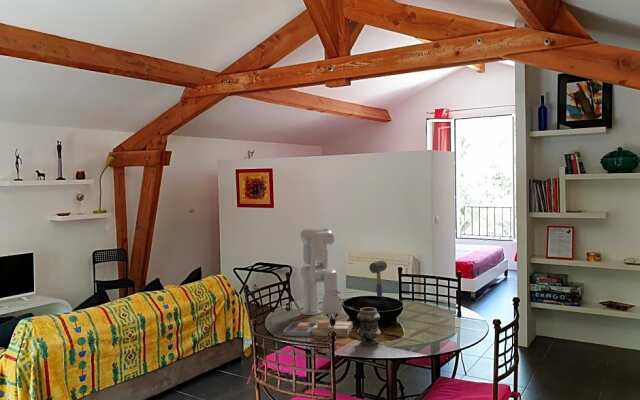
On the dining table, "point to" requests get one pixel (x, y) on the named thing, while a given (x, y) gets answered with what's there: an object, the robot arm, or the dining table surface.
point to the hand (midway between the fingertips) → (332, 325)
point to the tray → (292, 331)
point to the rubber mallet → (378, 274)
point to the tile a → (303, 326)
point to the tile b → (323, 324)
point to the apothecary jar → (368, 326)
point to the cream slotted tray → (334, 329)
